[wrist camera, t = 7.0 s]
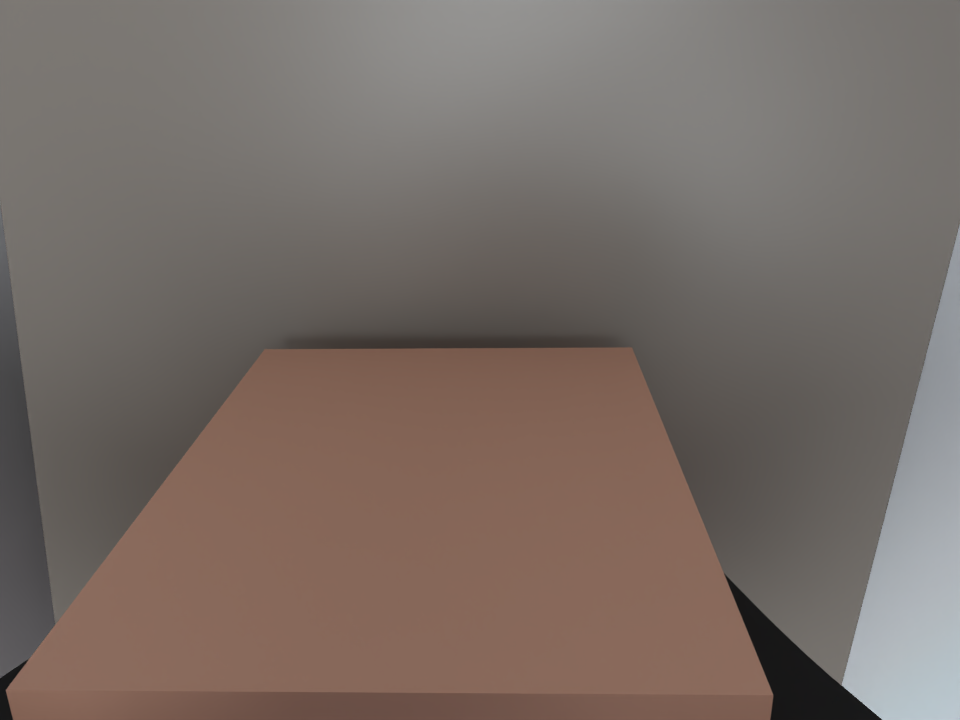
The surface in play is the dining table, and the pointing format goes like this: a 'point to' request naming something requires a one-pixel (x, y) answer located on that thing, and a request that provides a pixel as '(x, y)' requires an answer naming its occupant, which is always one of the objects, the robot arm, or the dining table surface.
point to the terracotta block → (412, 556)
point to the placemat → (492, 235)
